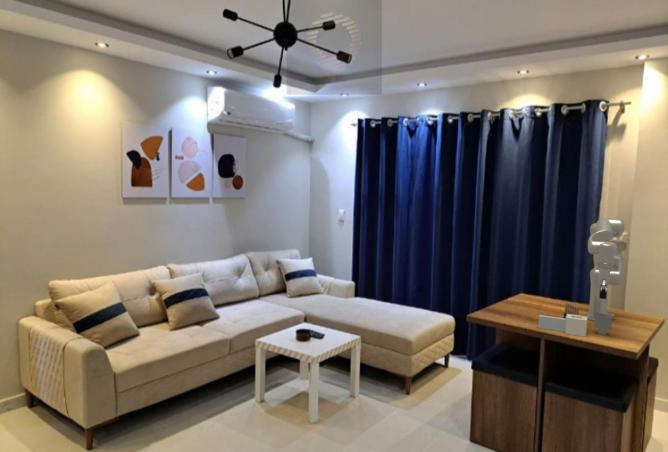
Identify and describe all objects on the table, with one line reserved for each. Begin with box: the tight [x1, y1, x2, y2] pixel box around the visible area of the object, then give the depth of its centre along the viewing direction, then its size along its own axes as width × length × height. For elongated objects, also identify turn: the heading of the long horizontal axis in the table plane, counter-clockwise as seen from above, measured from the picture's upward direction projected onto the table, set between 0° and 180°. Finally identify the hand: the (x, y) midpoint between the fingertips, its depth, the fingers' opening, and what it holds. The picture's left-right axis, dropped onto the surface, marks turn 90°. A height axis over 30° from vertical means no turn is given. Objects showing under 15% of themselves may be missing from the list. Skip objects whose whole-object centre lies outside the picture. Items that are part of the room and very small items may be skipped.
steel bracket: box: [593, 313, 613, 336], centre depth 262 cm, size 3×8×11 cm, turn 62°
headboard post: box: [537, 314, 588, 338], centre depth 267 cm, size 9×24×9 cm, turn 62°
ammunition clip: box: [563, 301, 580, 319], centre depth 282 cm, size 11×2×12 cm, turn 14°
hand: (602, 296), depth 262 cm, fingers open, 9 cm apart
